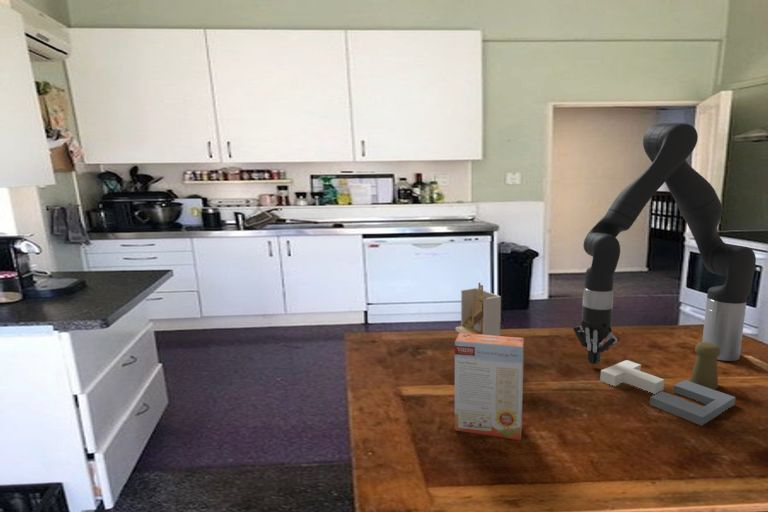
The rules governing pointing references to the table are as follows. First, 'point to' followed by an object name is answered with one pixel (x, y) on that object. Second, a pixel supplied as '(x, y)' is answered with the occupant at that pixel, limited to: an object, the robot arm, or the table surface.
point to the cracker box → (489, 385)
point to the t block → (631, 377)
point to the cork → (706, 365)
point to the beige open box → (480, 312)
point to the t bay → (690, 410)
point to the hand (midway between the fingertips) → (593, 363)
